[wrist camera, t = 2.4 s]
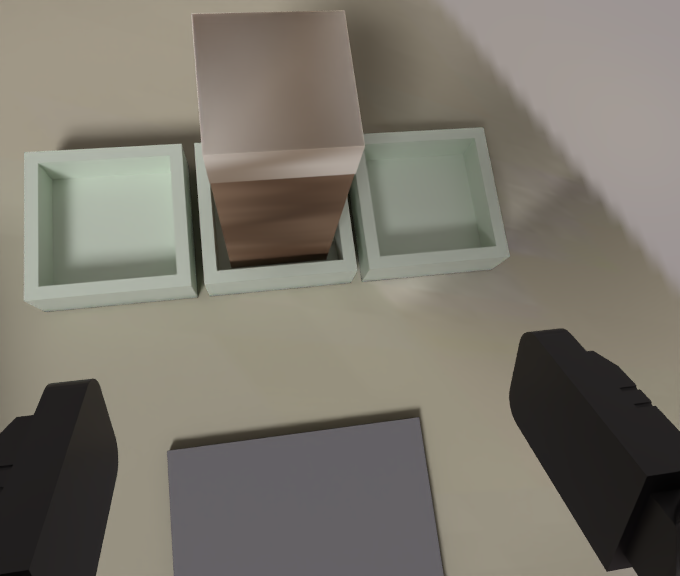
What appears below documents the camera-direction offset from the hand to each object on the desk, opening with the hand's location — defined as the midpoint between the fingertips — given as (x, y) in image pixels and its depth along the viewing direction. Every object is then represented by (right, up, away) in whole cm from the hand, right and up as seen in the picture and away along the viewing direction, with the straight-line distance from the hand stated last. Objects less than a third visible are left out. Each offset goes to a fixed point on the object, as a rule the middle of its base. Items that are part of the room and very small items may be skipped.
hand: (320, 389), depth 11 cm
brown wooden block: (-2, +5, +13) cm, 14 cm away
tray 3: (+4, +5, +15) cm, 16 cm away
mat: (-1, -8, +11) cm, 13 cm away
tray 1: (-9, +4, +13) cm, 16 cm away
